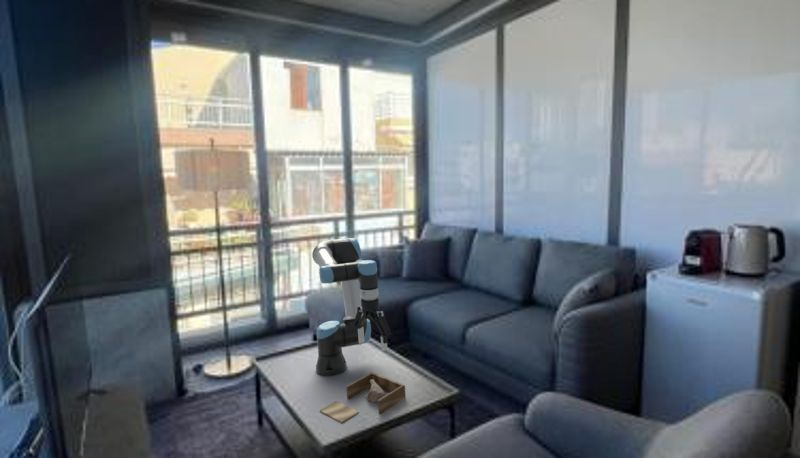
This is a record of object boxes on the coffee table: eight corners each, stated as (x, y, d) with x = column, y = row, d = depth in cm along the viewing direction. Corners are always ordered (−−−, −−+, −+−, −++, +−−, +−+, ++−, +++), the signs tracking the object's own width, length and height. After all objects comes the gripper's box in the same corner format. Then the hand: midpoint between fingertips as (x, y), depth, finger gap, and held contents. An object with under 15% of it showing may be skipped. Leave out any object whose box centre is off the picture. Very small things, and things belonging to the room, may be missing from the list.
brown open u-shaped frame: (347, 398, 191) (346, 385, 190) (372, 384, 203) (371, 372, 202) (380, 414, 178) (379, 400, 177) (405, 398, 190) (404, 385, 189)
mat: (319, 411, 183) (319, 410, 183) (336, 401, 189) (336, 400, 189) (342, 423, 174) (341, 421, 173) (358, 412, 180) (358, 411, 180)
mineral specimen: (361, 394, 194) (360, 381, 193) (376, 390, 198) (375, 377, 197) (373, 408, 183) (372, 394, 182) (388, 403, 186) (387, 389, 186)
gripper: (342, 295, 189) (346, 342, 192) (385, 305, 173) (388, 356, 176) (355, 291, 194) (358, 336, 198) (398, 300, 178) (400, 350, 181)
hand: (372, 346), depth 187 cm, fingers open, 13 cm apart
